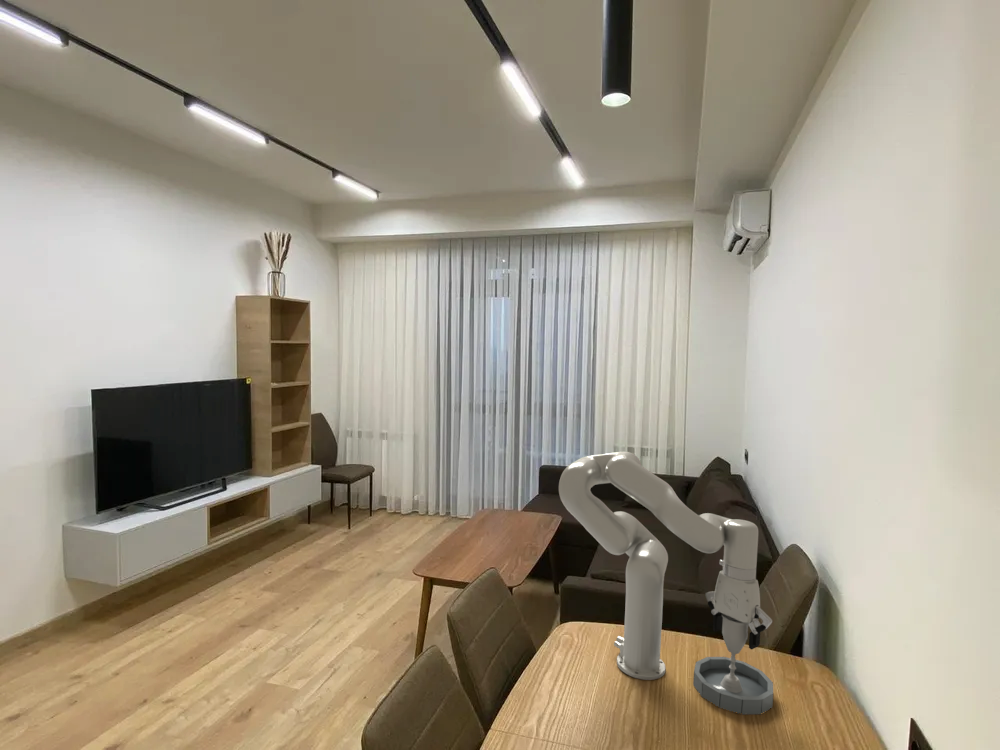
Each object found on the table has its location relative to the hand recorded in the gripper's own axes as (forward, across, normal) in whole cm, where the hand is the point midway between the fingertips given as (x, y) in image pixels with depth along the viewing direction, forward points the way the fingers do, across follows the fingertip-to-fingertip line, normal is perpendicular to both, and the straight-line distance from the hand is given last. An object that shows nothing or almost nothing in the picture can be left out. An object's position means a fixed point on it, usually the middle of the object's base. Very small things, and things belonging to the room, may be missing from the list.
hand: (735, 638), depth 136 cm
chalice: (+12, 0, 0) cm, 12 cm away
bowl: (+13, 0, 0) cm, 13 cm away
